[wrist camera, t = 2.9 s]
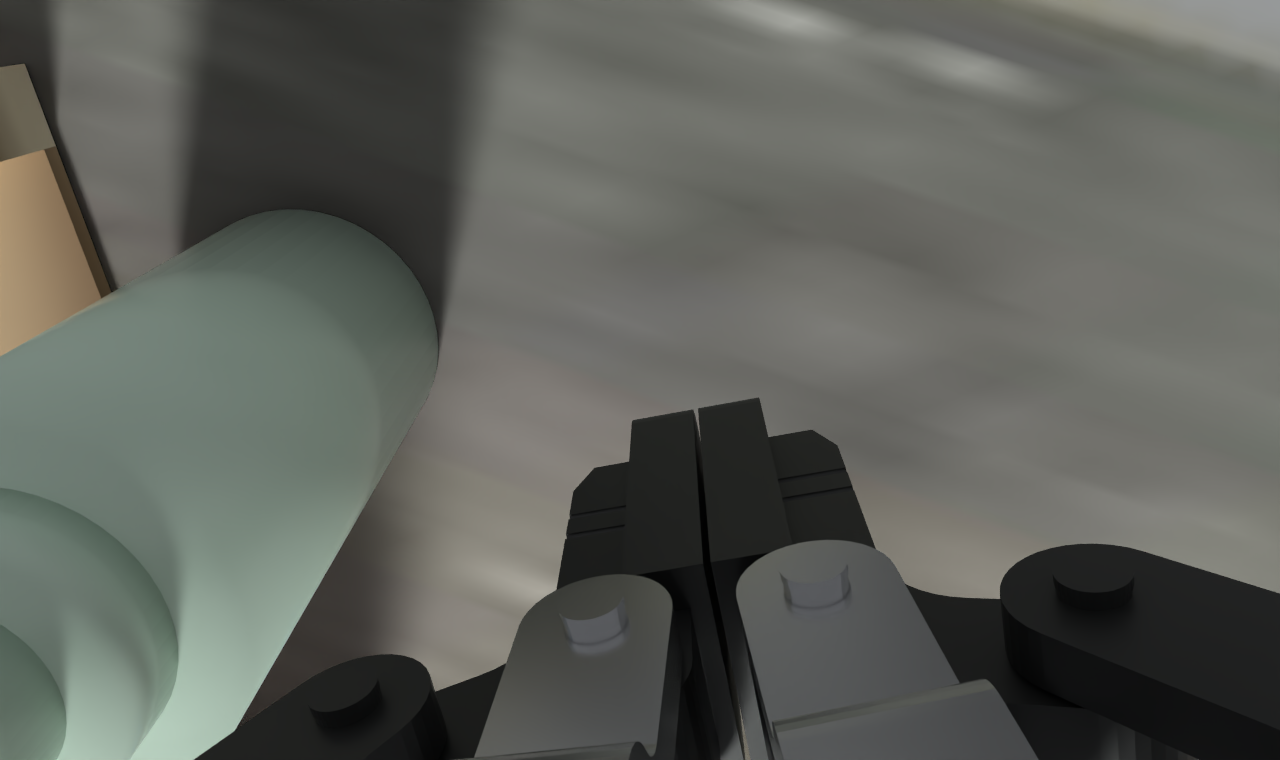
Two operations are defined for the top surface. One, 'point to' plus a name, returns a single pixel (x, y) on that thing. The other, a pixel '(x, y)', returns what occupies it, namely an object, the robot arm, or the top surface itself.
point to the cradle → (38, 223)
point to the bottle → (193, 479)
